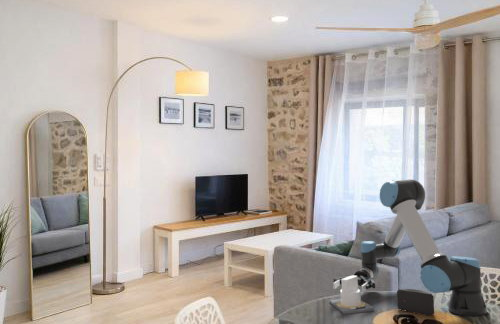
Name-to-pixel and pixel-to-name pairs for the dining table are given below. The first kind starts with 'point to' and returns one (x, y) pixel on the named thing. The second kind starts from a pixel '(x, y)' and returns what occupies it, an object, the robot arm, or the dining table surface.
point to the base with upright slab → (350, 292)
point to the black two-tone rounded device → (415, 301)
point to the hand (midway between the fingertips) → (347, 287)
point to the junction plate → (347, 309)
